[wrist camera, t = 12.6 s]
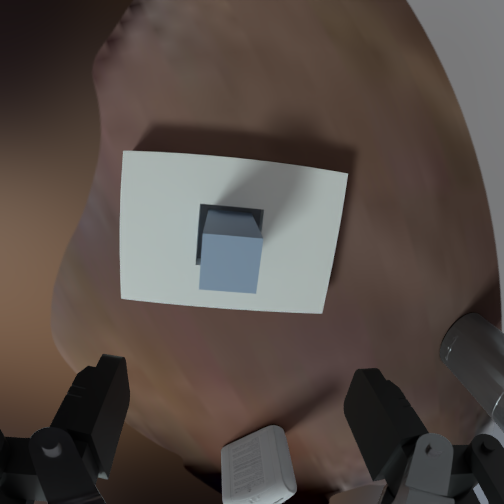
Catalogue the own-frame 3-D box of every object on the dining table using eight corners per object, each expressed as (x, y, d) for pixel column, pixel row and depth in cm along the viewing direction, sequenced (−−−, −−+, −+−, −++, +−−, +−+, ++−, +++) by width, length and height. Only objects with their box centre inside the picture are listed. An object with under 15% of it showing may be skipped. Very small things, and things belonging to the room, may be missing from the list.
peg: (251, 213, 30) (263, 238, 21) (246, 253, 31) (256, 293, 22) (208, 209, 29) (202, 233, 21) (205, 250, 31) (198, 289, 22)
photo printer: (234, 459, 42) (239, 523, 31) (216, 447, 41) (218, 515, 29) (289, 432, 41) (306, 500, 29) (273, 419, 40) (287, 491, 28)
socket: (337, 171, 30) (348, 173, 28) (314, 300, 34) (321, 313, 32) (132, 150, 28) (123, 150, 25) (129, 286, 32) (121, 298, 29)
